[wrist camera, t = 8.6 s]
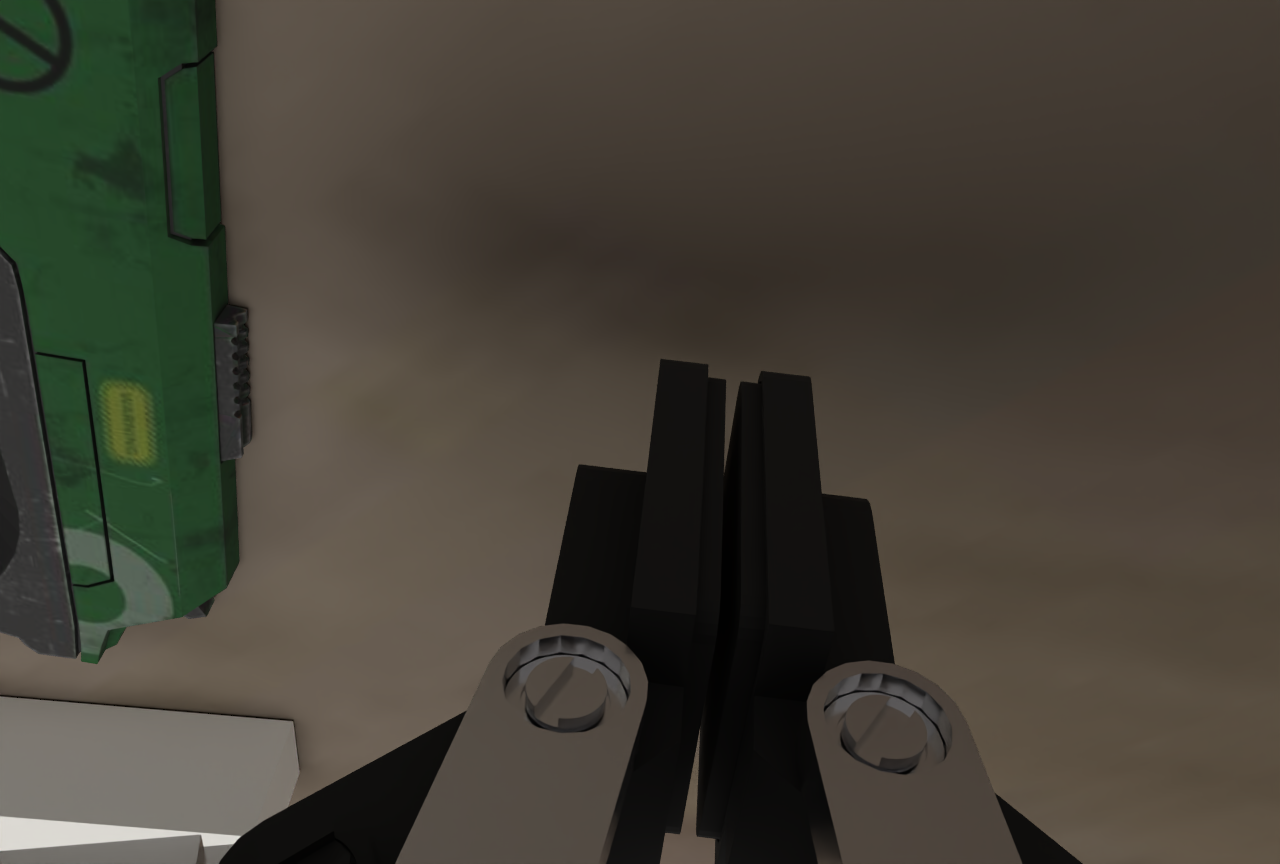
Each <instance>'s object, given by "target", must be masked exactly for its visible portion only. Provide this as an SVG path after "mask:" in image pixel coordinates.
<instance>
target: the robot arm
mask: <svg viewBox="0 0 1280 864" xmlns="http://www.w3.org/2000/svg"><path fill="white" fill-rule="evenodd" d="M725 403H726V380H725V379H716V378H708V365H707V364H699V363H691V362H682V361H674V360H666V359H661V360H660V368H659V376H658V385H657V393H656V401H655V409H654V418H653V426H652V434H651V442H650V451H649V459H648V467H647V473H646V472H638V471H630V470H622V469H613V468H605V467H597V466H588V465H580V464H579V466H578V469H577V473H576V477H575V482H574V487H573V492H572V497H571V501H570V506H569V511H568V516H567V521H566V526H565V530H564V535H563V540H562V545H561V550H560V555H559V560H558V564H557V569H556V574H555V579H554V584H553V589H552V594H551V598H550V603H549V608H548V613H547V618H546V623H545V626H539V627H537V628H534V629H531V630H528V631H526V632H523V633H520V634H518V635H517V636H515V637H514V638H512V639H511V640H510V641H508V642H507V643H505V644H504V645H503V646H501V647H500V649H499V650H498V652H497V653H496V654H495V656H494V657H493V658H492V660H491V661H490V663H489V664H488V667H487V669H486V671H485V673H484V675H483V677H482V679H481V682H480V684H479V686H478V688H477V690H476V692H475V694H474V696H473V699H472V701H471V703H470V705H469V707H468V709H467V711H465V712H463V713H461V714H459V715H458V716H456V717H454V718H452V719H450V720H448V721H446V722H445V723H443V724H441V725H439V726H437V727H435V728H434V729H432V730H430V731H428V732H426V733H424V734H422V735H421V736H419V737H417V738H415V739H413V740H411V741H410V742H408V743H406V744H404V745H402V746H400V747H398V748H397V749H395V750H393V751H391V752H389V753H387V754H386V755H384V756H382V757H380V758H378V759H376V760H374V761H373V762H371V763H369V764H367V765H365V766H363V767H362V768H360V769H358V770H356V771H354V772H352V773H350V774H349V775H347V776H345V777H343V778H341V779H339V780H338V781H336V782H334V783H332V784H330V785H328V786H326V787H325V788H323V789H321V790H319V791H317V792H315V793H314V794H312V795H310V796H308V797H306V798H304V799H302V800H301V801H299V802H297V803H295V804H293V805H291V806H290V807H288V808H286V809H284V810H282V811H280V812H278V813H277V814H275V815H273V816H271V817H269V818H267V819H266V820H264V821H262V822H261V823H259V824H258V825H257V826H255V827H254V828H252V829H251V830H249V831H248V832H247V833H245V834H244V835H242V836H241V837H240V838H239V839H238V840H237V841H236V842H235V843H234V844H229V845H217V846H205V847H204V846H203V841H202V837H201V834H200V835H188V836H176V837H164V838H152V839H140V840H128V841H115V842H103V843H91V844H79V845H67V846H55V847H43V848H31V849H19V850H7V851H0V864H660V859H661V853H662V847H663V841H664V836H665V833H673V834H680V832H681V827H682V822H683V817H684V811H685V806H686V800H687V795H688V790H689V784H690V779H691V773H692V768H693V763H694V757H695V752H696V746H697V741H698V735H699V730H700V747H699V772H698V796H697V821H696V835H697V837H705V838H713V839H715V864H1082V863H1081V862H1080V861H1079V860H1077V859H1076V858H1075V857H1074V856H1072V855H1071V854H1070V853H1069V852H1067V851H1066V850H1065V849H1064V848H1063V847H1061V846H1060V845H1059V844H1058V843H1056V842H1055V841H1054V840H1053V839H1051V838H1050V837H1049V836H1048V835H1046V834H1045V833H1044V832H1043V831H1041V830H1040V829H1039V828H1038V827H1037V826H1035V825H1034V824H1033V823H1032V822H1030V821H1029V820H1028V819H1027V818H1025V817H1024V816H1023V815H1022V814H1020V813H1019V812H1018V811H1017V810H1015V809H1014V808H1013V807H1012V806H1010V805H1009V804H1008V803H1007V802H1006V801H1004V800H1003V799H1002V798H1001V797H999V796H998V795H997V794H996V793H994V790H993V788H992V785H991V782H990V780H989V777H988V775H987V772H986V770H985V767H984V765H983V762H982V760H981V757H980V754H979V752H978V749H977V747H976V744H975V742H974V739H973V737H972V734H971V732H970V729H969V726H968V724H967V722H966V720H965V718H964V716H963V715H962V713H961V711H960V710H959V708H958V706H957V704H956V703H955V702H954V701H953V700H952V699H951V698H950V697H949V696H948V695H947V694H946V693H945V692H944V691H943V690H942V689H941V688H940V687H939V686H938V685H937V684H935V683H933V682H932V681H930V680H928V679H927V678H925V677H924V676H922V675H920V674H919V673H917V672H915V671H912V670H909V669H906V668H903V667H901V666H898V665H895V663H894V656H893V649H892V643H891V636H890V629H889V623H888V616H887V609H886V603H885V596H884V589H883V583H882V576H881V569H880V563H879V556H878V549H877V543H876V536H875V529H874V523H873V516H872V510H871V506H870V503H869V501H868V500H867V499H862V498H853V497H845V496H837V495H829V494H822V492H821V481H820V470H819V459H818V449H817V438H816V427H815V416H814V406H813V395H812V384H811V378H810V377H807V376H799V375H791V374H782V373H774V372H766V371H761V373H760V376H759V379H758V383H750V382H741V383H740V386H739V391H738V396H737V402H736V408H735V414H734V420H733V425H732V431H731V437H730V443H729V449H728V455H727V461H726V467H725V472H724V443H725Z"/></svg>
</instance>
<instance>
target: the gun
mask: <svg viewBox="0 0 1280 864" xmlns="http://www.w3.org/2000/svg"><path fill="white" fill-rule="evenodd" d="M215 47H217V32H216V9H215V0H0V633H4V634H7V635H10V636H14V637H17V638H19V639H20V640H21V641H22V642H23V643H24V644H25V645H26V646H27V647H29V648H30V649H32V650H33V651H35V652H36V653H38V654H43V655H51V656H58V657H65V658H73V659H76V658H77V656H78V654H79V653H80V652H81V661H82V662H88V663H94V664H98V662H99V660H100V658H101V657H102V655H103V653H104V651H105V650H106V649H108V648H110V647H112V646H114V645H116V644H117V643H118V641H119V640H120V638H121V636H122V634H123V632H124V631H125V629H126V627H128V626H134V625H140V624H145V623H151V622H157V621H163V620H168V619H174V618H180V617H183V616H184V617H186V618H188V619H192V618H199V617H206V616H207V615H208V613H209V611H210V609H211V607H212V605H213V603H214V598H213V596H215V595H217V594H218V593H220V592H221V591H223V590H224V589H226V588H227V586H228V584H229V582H230V580H231V578H232V576H233V574H234V572H235V570H236V568H237V566H238V564H239V540H238V517H237V494H236V471H235V459H237V458H242V456H243V454H244V452H243V447H245V446H246V445H247V444H249V443H250V441H251V410H250V400H249V399H248V398H247V397H246V396H248V395H249V393H250V387H249V386H248V385H247V384H246V382H248V380H249V372H248V371H247V370H246V369H245V368H247V367H248V365H249V358H248V357H246V355H245V353H247V351H248V343H247V342H246V341H245V340H244V339H245V338H246V337H247V336H248V329H247V328H246V327H245V326H244V323H246V321H247V309H244V308H240V307H235V306H231V305H228V286H227V263H226V240H225V226H224V225H221V224H219V223H220V222H221V205H220V183H219V162H218V140H217V119H216V97H215V75H214V54H213V52H211V51H212V50H213V49H214V48H215Z"/></svg>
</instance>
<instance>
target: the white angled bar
mask: <svg viewBox="0 0 1280 864" xmlns="http://www.w3.org/2000/svg"><path fill="white" fill-rule="evenodd" d="M299 773H300V771H299V763H298V755H297V748H296V740H295V732H294V724H293V721H284V720H272V719H260V718H248V717H236V716H225V715H213V714H201V713H189V712H177V711H166V710H154V709H142V708H130V707H119V706H107V705H95V704H83V703H71V702H60V701H48V700H36V699H24V698H12V697H1V696H0V851H7V850H19V849H31V848H43V847H55V846H67V845H79V844H91V843H103V842H115V841H128V840H140V839H152V838H164V837H176V836H188V835H200V834H201V837H202V841H203V846H204V847H205V846H217V845H229V844H234V843H235V842H236V841H237V840H238V839H239V838H240V837H241V836H242V835H244V834H245V833H247V832H248V831H249V830H251V829H252V828H254V827H255V826H257V825H258V824H259V823H261V822H262V821H264V820H266V819H267V818H269V817H271V816H273V815H275V814H277V813H278V812H280V811H282V810H284V809H286V808H288V806H289V803H290V800H291V797H292V794H293V791H294V788H295V785H296V782H297V779H298V776H299Z"/></svg>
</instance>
